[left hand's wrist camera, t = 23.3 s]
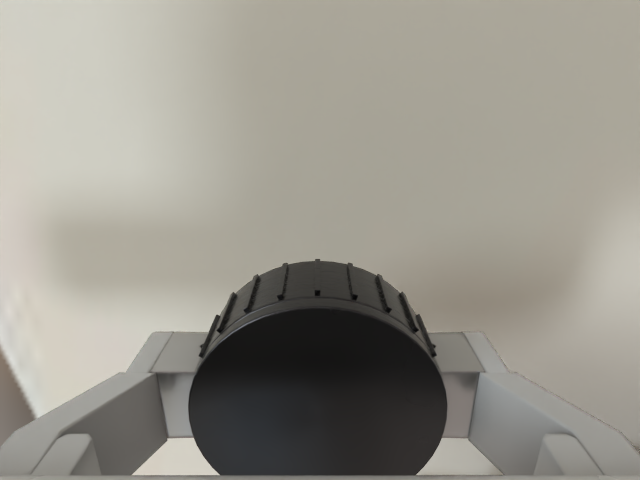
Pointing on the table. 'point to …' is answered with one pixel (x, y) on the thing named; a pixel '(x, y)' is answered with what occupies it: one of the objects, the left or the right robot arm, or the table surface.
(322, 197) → the table surface
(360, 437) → the lid
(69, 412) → the left robot arm
